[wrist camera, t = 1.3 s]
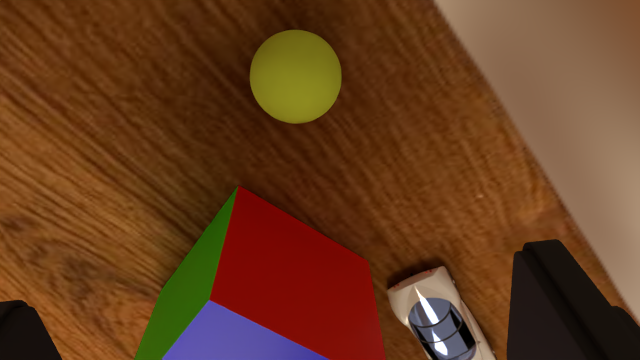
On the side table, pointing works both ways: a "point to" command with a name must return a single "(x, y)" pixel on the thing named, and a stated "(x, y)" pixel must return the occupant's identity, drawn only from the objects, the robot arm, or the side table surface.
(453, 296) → the toy car
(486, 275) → the side table surface
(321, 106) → the ball
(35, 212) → the side table surface
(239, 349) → the cube
